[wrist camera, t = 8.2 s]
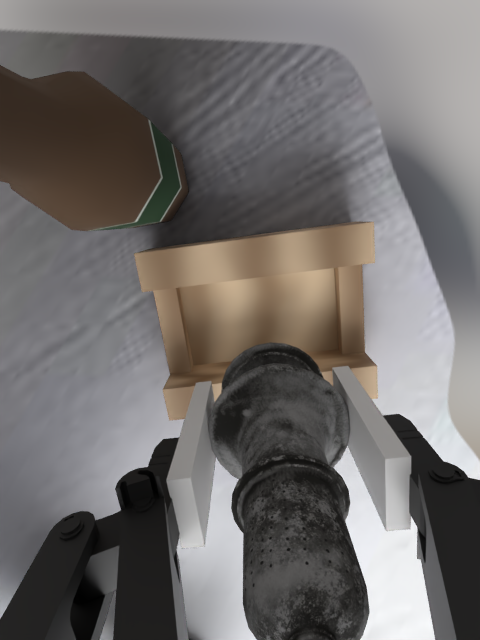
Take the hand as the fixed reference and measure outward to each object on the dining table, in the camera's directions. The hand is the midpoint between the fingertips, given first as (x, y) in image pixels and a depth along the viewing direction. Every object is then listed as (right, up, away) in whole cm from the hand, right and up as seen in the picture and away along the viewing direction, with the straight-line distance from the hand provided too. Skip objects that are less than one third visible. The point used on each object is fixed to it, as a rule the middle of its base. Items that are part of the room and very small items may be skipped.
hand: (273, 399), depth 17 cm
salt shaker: (0, 0, +1) cm, 1 cm away
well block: (0, +5, +16) cm, 17 cm away
